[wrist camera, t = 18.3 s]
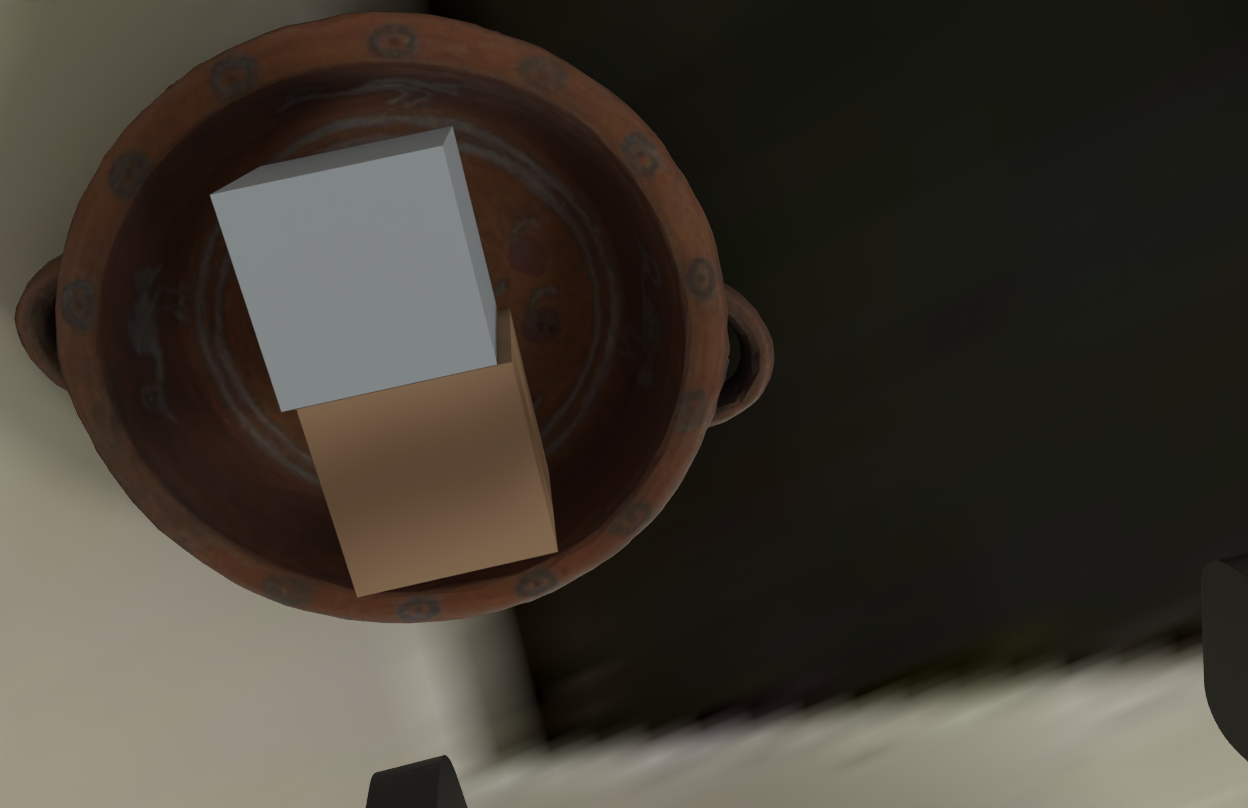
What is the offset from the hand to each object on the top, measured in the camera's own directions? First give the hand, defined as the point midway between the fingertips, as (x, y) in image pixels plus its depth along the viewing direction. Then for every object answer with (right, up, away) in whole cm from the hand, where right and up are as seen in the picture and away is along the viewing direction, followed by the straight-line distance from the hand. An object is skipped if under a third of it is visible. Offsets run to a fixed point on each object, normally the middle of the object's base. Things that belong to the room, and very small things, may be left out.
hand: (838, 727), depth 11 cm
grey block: (-9, +8, +17) cm, 21 cm away
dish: (-9, +7, +23) cm, 25 cm away
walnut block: (-7, +3, +19) cm, 20 cm away
